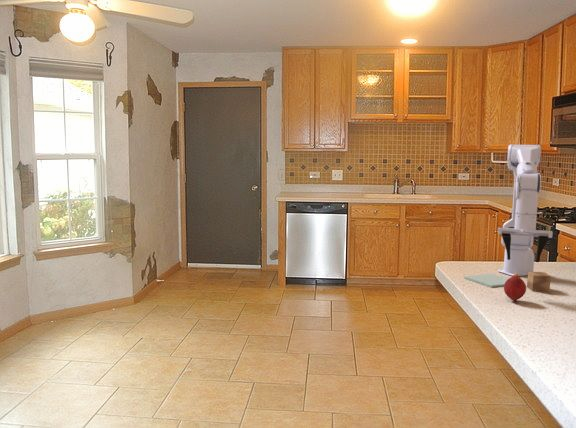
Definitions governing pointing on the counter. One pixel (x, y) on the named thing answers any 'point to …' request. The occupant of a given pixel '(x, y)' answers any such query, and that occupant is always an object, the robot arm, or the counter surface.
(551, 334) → the counter surface
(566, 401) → the counter surface
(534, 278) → the walnut cube
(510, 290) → the onion
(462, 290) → the counter surface
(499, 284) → the ceramic tile
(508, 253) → the robot arm
